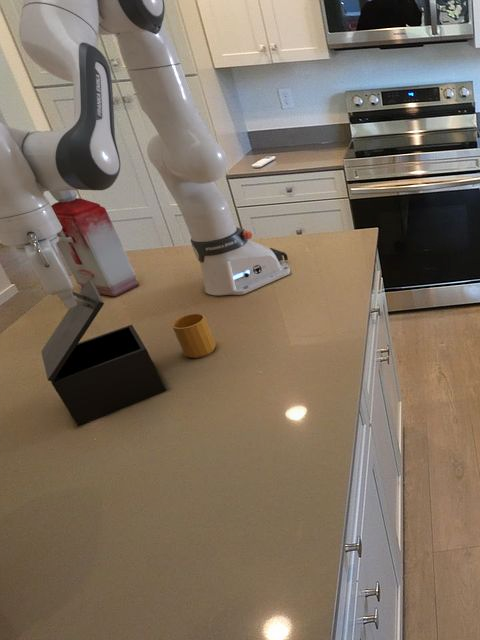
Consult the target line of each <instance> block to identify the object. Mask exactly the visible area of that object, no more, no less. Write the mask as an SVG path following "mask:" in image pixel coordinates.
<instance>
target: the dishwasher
mask: <svg viewBox="0 0 480 640" xmlns="http://www.w3.org/2000/svg"><path fill="white" fill-rule="evenodd" d="M50 382H51V381H50ZM51 385H52V386H53V388H54V390H55V392H56V393H57V395H58V396H59V398H60V399H61V401H62V403H63V404H64V406H65V407H66V409H67V411H68V412H69V414H70V416H71V417H72V419H73V421H74V422H75V423H76V424H75V425H77V427H81V426H84V425H85V424H88V423H90V422H92V421H95V420H98V419H100V418H102V417H105V416H107V415H110V414H112V413H115V412H117V411H120V410H122V409H124V408H127V407H129V406H131V405H134V404H136V403H139V402H141V401H145V400H146V399H149V398H151V397H154V396H157V395H159V394H161V393H164V392H166V391H167V388H166V387H165V386H166V385H165V384H164V382H163V380H162V378H161V376H160V374H159V371H158V369H157V367H156V366H155V364H154V362H153V359H152V357H151V355H150V353H149V351H148V349H147V348H146V345H145V344H144V342H143V341H142V339H141V337H140V336H139V334H138V332H137V330H136V329H135V327H134V325H133V324H129V325H126V326H124V327H120V328H118V329H117V328H116V329H114V330H112V331H109V332H105V333H103V334H99V335H97V336H94V337H91V338H89V339H86V340H83V341H79V343H78V344H77V346H76V347H75V349H74V350H73V352H72V353H71V355H70V356H69V358H68V359H67V361H66V362H65V364H64V366H63V367H62V369H61V370H60V372H59V373H58V375H57V376H56V378H55V379H54V381H53V382H51Z"/></svg>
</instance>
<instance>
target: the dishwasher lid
mask: <svg viewBox="0 0 480 640" xmlns="http://www.w3.org/2000/svg"><path fill="white" fill-rule="evenodd" d="M71 293H72V295H73V297H74V299H75V300H76V302H77V306H75V307H72V308H68V309H67V311H66V313H65V315H64V316H63V318H62V319H61V320H60V322H59V324H58V325H57V327H56V328H55V330H54V331H53V333H52V334H51V336H50V337H49V339H48V341H47V342H46V343H45V345H44V346H43V348H42V349H41V351H40V354H41V357H42V361H43V367H44V369H45V374H46V378H47V381H48V382H53V381H54V379H55V378H56V376H57V375H58V373H59V372H60V370H61V369H62V367H63V366H64V364H65V362H66V361H67V359H68V358H69V356H70V355H71V353H72V352H73V350H74V349H75V347H76V346H77V344H78V343H80V342H81V340H82V339H83V337H84V335H85V334H86V332H87V331H88V329H89V327H90V326H91V325H92V323H93V322H94V320H95V319H96V317H97V315H98V314H99V312H100V311H101V310H102V308H103V306H104V304H105V302H104V300H103V298H102V296H101V294H99V292H98V291H97V289H96V287H95V285H94V283H93V281H91V280H88V281H87V283H86V284H85V286H84V287H83V289H82V290H81V289H80V292H78V291H76V290H73V289H71Z"/></svg>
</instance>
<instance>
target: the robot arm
mask: <svg viewBox="0 0 480 640" xmlns="http://www.w3.org/2000/svg"><path fill="white" fill-rule="evenodd" d="M165 7H166V5H165V0H23V1H22V7H21V13H20V17H19V25H18V34H19V40H20V44H21V46H22V49H23V50H24V52H25V53H26V54H27V56H28V57H29V59H30V60H32V61H33V62H34V63H35V64H36V65H37V66H38V67H39V68H41V69H43V70H44V71H45V72H47V73H49V74H50V75H52V76H54V77H56V78H58V79H61V80H63V81H67V82H71V83H72V85H73V86H72V87H73V90H72V91H73V112H74V113H73V116H74V118H73V121H72V122H71V123H70V124H69V125H67V126H66V127H64V128H62V129H61V128H60V129H52V130H42V131H41V130H37V131H36V130H35V131H30V130H25V129H18V128H14V127H11V126H8V125H6V124H3V122H1V121H0V243H1V244H2V245H3V246H6V247H14V249H15V251H16V253H17V252H18V253H23V254H24V253H25V254H26V256H27V259H28V261H29V263H30V264H31V267H32V268H33V270H34V271H35V273H36V276H37V277H38V280H39V281H40V283H41V284H42V286H43V287H44V289H45V291H46V292H47V293H48V295H50V296H55V295H57V297H58V298H59V299H60V300H61V302H62V304H63V306H64V308H66V309H70V308H72V307H75V306H77V302H76V300H75V299H74V297H75V296H74V297H73V295H72V293H71V290H73V288H74V284H73V282H72V280H71V278H70V275H69V273H68V271H67V268H66V266H65V264H64V262H63V260H62V257H61V253H60V252H59V248H58V246H57V244H56V243H57V242H58V241H59V238H58V236H57V233H59V232H60V231H61V230H62V226H61V224H60V222H59V220H58V218H57V216H56V214H55V212H54V211H53V209H52V207H51V206H52V205H51V203H50V201H49V199H48V198H47V197H46V195H45V194H44V193H45V192H49V191H65V190H76V191H77V190H78V191H79V190H80V191H106V190H107V189H109V188H111V187H112V186H113V185H114V183H115V182H116V180H117V179H118V177H119V174H120V171H121V158H120V153H119V148H118V145H117V140H116V131H115V112H114V111H115V109H114V91H113V80H112V73H111V68H110V64H109V63H108V60H107V59H106V57H105V55H104V54H103V53H102V51H100V50H99V49H98V43H99V42H98V40H99V36H113V35H114V36H115V37H116V40H117V44H118V47H119V48H118V49H119V50H120V51H119V52H120V55H121V57H122V61H123V64H124V66H125V69H126V72H127V75H128V77H129V79H130V82H131V85H132V89H133V90H134V93H135V96H136V99H137V102H138V104H139V106H140V108H141V110H142V111H143V112H144V114H145V115H146V116H147V117H148V119H149V120H150V122H151V123H152V125H153V127H154V129H155V130H156V132H157V134H155V135H154V136H152V137H151V138H150V140H149V141H148V143H147V147H146V153H147V158H148V161H149V162H150V163H151V165H153V166H152V167H154V168H155V169H156V170H157V172H158V174H159V176H160V177H161V179H162V181H163V183H164V184H165V187H166V188H167V190H168V191H169V193H170V195H171V196H172V198H173V199H174V201H175V203H176V205H177V207H178V208H179V211H180V213H181V215H182V217H183V220H184V223H185V225H186V228H187V231H188V233H189V235H190V243H191V247H192V250H193V252H194V256H196V257H195V258H196V259H197V261H198V262H199V264H200V269H201V272H202V277H203V284H204V292H205V293H206V294H207V295H210V296H229V295H235V296H242V295H245V294H248V293H250V292H252V291H254V290H257V289H259V288H262V287H264V286H266V285H268V284H270V283H273V282H275V281H278V280H279V279H282V278H284V277H286V276H288V275H290V274H291V268H290V266H289V264H288V263H287V262H285V261H288V260H289V258H288V254H287V253H286V252H284V251H281V250H278V249H276V248H272V247H268V246H266V245H263V244H261V243H258V242H256V241H253V240H252V238H253V233H252V232H251V231H249V230H248V229H244V228H242V227H239V226H236V223H235V219H234V217H233V215H232V212H231V209H230V204H229V203H228V200H227V198H226V197H225V195H224V194H223V193H222V192H221V191H220V189H219V188H218V187H217V186H218V185H216V183H215V182H217V181H218V180H220V179H221V178H223V177H224V176H225V174H226V172H227V170H228V156H227V153H226V152H225V150H224V149H223V147H222V146H221V145H220V144H219V143H218V141H217V140H216V139H215V138H214V136H213V133H212V132H211V130H210V129H209V127H208V124H207V123H206V121H205V120H204V117H203V116H202V114H201V112H200V110H199V108H198V106H197V104H196V102H195V99H194V97H193V95H192V91H191V89H190V86H189V84H188V81H187V77H186V75H185V72H184V68H183V65H182V63H181V59H180V57H179V54H178V52H177V49H176V47H175V44H174V42H173V39H172V37H171V36H170V34H169V31H168V30H167V27H166V26H165V24H164V18H165Z"/></svg>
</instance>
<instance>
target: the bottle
mask: <svg viewBox="0 0 480 640" xmlns="http://www.w3.org/2000/svg"><path fill="white" fill-rule="evenodd" d="M48 192H49V193H50V195H51V196H52V197H53V199H54V200H55V201H57V202H55V203H53V204H52V205H51V207H52V209H53V211H54V212H55V214H56V216H57V218H58V220H59V222H60V224H61V226H62V230H61V231H60V232H59V233H57V236H58V238H59V241H58V242H57V243H56V246H57V249H58V250H59V251H60V254H61V255H62V257H63V259H64V261H65V262H66V265H67V267H68V268H69V270H70V272H71V274H72V276H73V278H74V280H75V282H76V283H77V284H78V285H79V286H80V291H81V290H82V289H83V287H84V286H85V284H86V283H87V281H88V280H91V281H93V283H94V285H95V287H96V289H97V291H98V292H99V294H100V295H106V296H109V297H110V296H111V297H117V296H119V295H122V294H124V293H126V292H127V291H129V290H131V289H134V288H135V287H137V286H138V284H139V283H140V281H139V280H138V279H137V274H136V272H135V270H134V267H133V265H132V264H131V261H130V259H129V257H128V255H127V252H126V250H125V248H124V246H123V244H122V242H121V239H120V238H119V235H118V233H117V231H116V229H115V227H114V224H113V222H112V220H111V218H110V216H109V214H108V212H107V209H106V207H103V206H102V205H100V203H97V202H94V201H90V200H87V199H84V198H81V197H77V196H78V193H77V190H65V191H48Z"/></svg>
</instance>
